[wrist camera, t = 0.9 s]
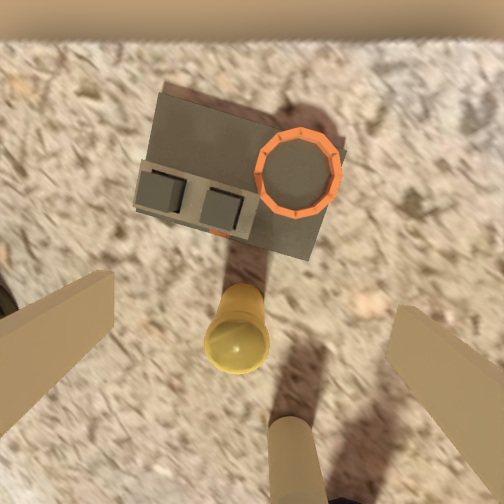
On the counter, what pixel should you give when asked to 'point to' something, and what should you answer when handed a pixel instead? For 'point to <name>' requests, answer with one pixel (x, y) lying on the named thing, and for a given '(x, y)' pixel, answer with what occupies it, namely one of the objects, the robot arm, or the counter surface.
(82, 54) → the counter surface
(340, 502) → the bottle
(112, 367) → the counter surface
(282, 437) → the beverage can
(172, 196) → the block
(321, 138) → the orange ring
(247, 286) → the cap
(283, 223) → the breaker panel
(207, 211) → the block
